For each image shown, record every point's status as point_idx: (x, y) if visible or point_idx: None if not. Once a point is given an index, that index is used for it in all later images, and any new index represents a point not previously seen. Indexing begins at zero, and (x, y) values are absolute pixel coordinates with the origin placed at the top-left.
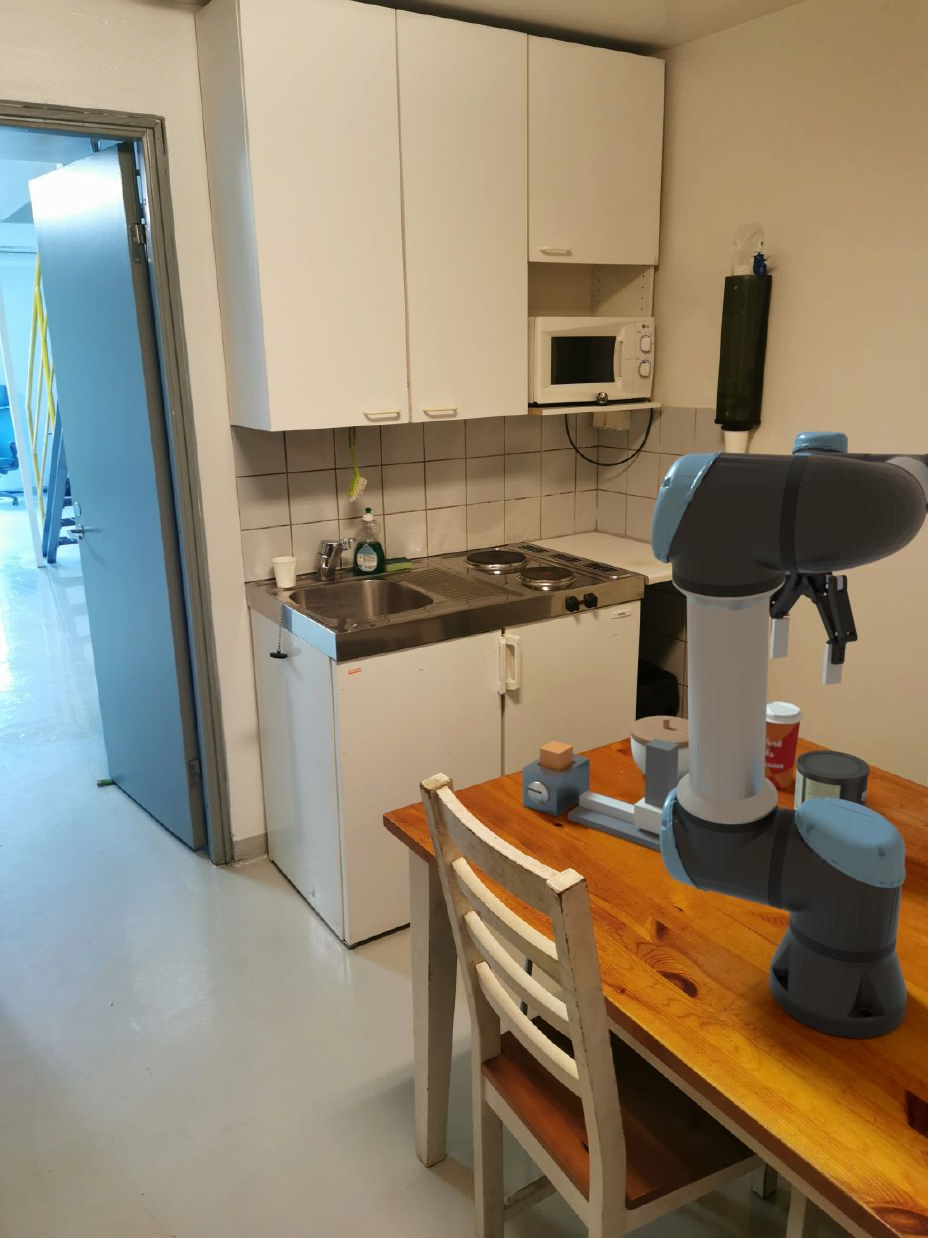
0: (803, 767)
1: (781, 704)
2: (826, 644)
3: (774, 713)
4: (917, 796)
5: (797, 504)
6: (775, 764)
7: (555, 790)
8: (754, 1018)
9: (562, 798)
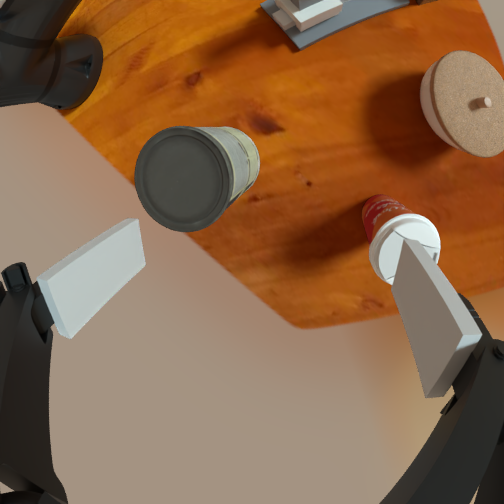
0: (180, 130)
1: None
2: (48, 275)
3: None
4: (283, 318)
5: None
6: (371, 208)
7: None
8: (78, 23)
9: None
